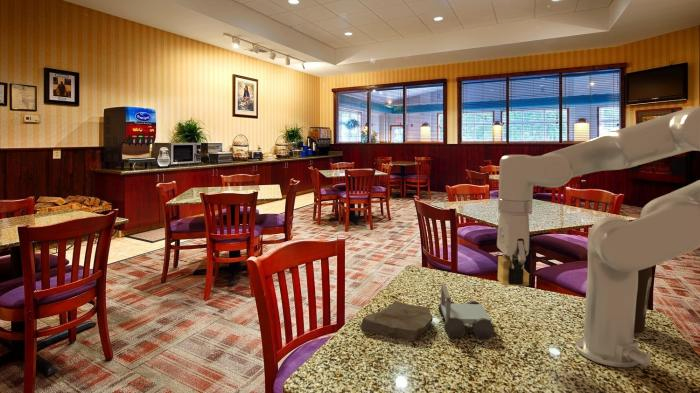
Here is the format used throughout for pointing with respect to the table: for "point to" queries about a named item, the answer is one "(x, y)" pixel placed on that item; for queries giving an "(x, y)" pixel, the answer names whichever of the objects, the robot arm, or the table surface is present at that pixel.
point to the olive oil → (642, 298)
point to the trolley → (464, 317)
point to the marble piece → (399, 321)
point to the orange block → (504, 271)
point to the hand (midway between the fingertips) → (512, 279)
